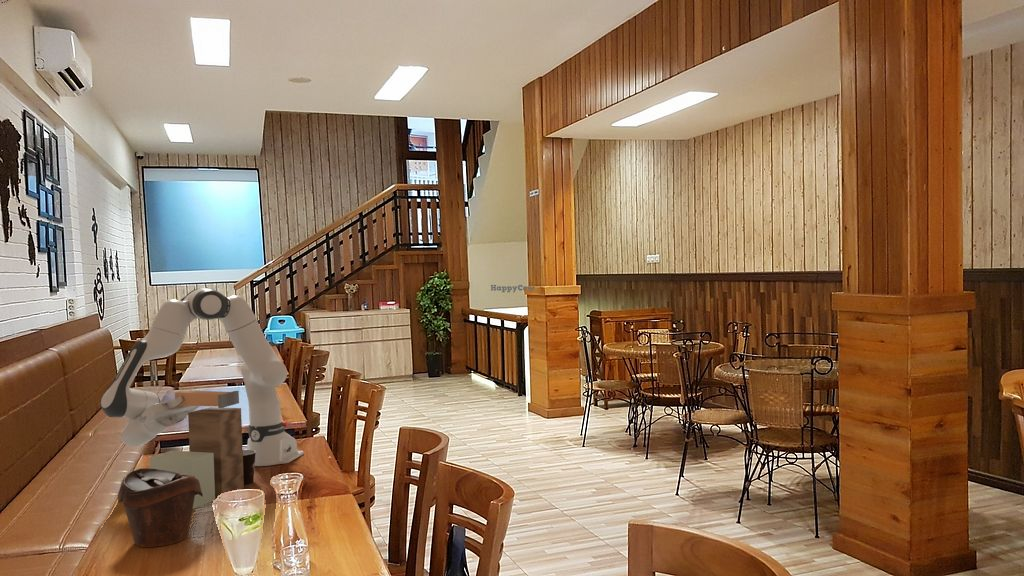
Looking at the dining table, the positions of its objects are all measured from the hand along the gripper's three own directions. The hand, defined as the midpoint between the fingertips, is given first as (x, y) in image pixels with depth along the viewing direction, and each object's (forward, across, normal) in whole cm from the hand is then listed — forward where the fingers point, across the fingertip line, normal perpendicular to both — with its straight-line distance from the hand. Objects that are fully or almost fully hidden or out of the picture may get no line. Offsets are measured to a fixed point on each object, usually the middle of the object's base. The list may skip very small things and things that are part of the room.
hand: (188, 396), depth 233 cm
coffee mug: (-6, +12, +32) cm, 35 cm away
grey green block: (-8, -12, +30) cm, 33 cm away
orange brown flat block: (+4, 0, +5) cm, 7 cm away
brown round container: (+8, -39, +39) cm, 56 cm away
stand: (-6, 0, +31) cm, 32 cm away
